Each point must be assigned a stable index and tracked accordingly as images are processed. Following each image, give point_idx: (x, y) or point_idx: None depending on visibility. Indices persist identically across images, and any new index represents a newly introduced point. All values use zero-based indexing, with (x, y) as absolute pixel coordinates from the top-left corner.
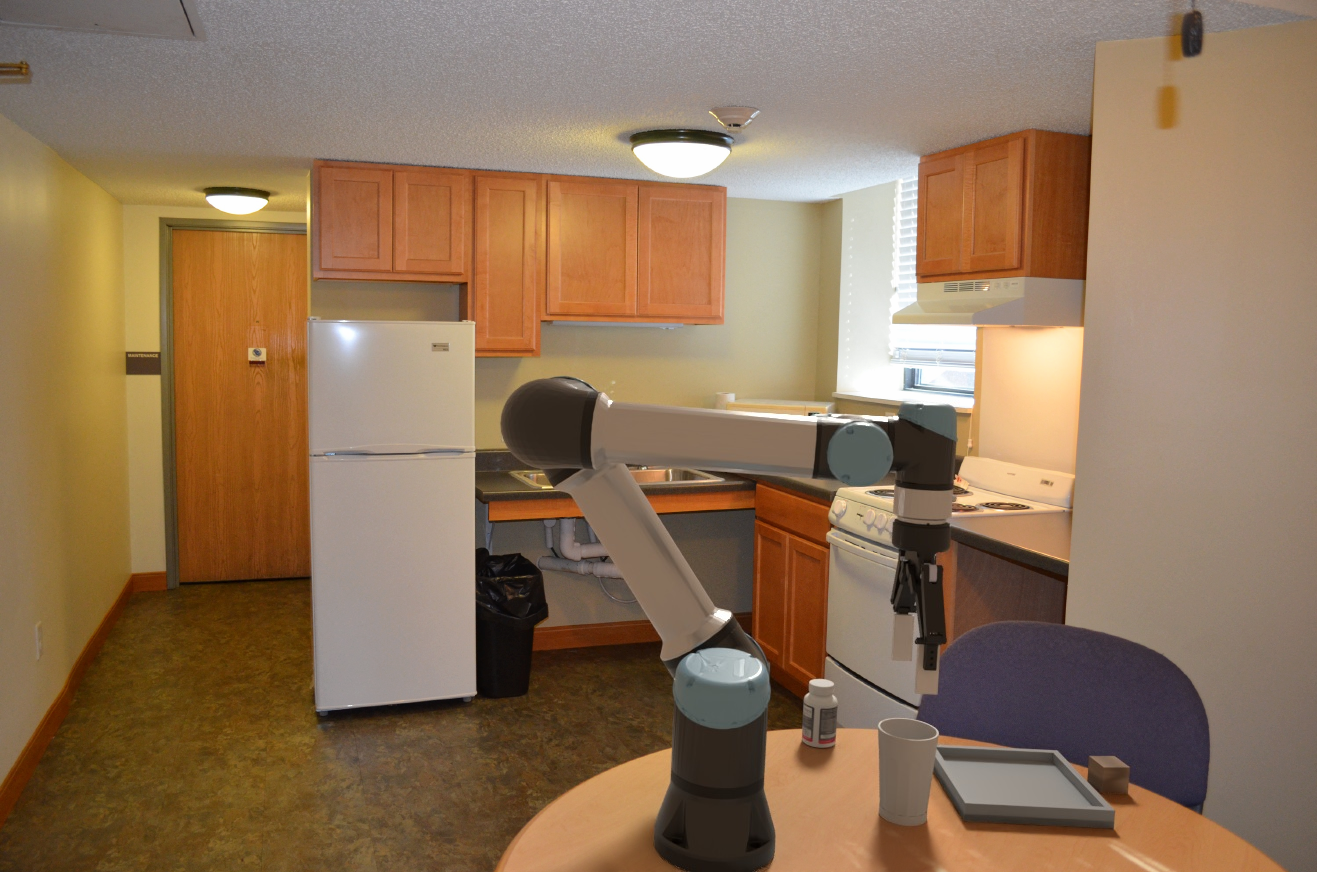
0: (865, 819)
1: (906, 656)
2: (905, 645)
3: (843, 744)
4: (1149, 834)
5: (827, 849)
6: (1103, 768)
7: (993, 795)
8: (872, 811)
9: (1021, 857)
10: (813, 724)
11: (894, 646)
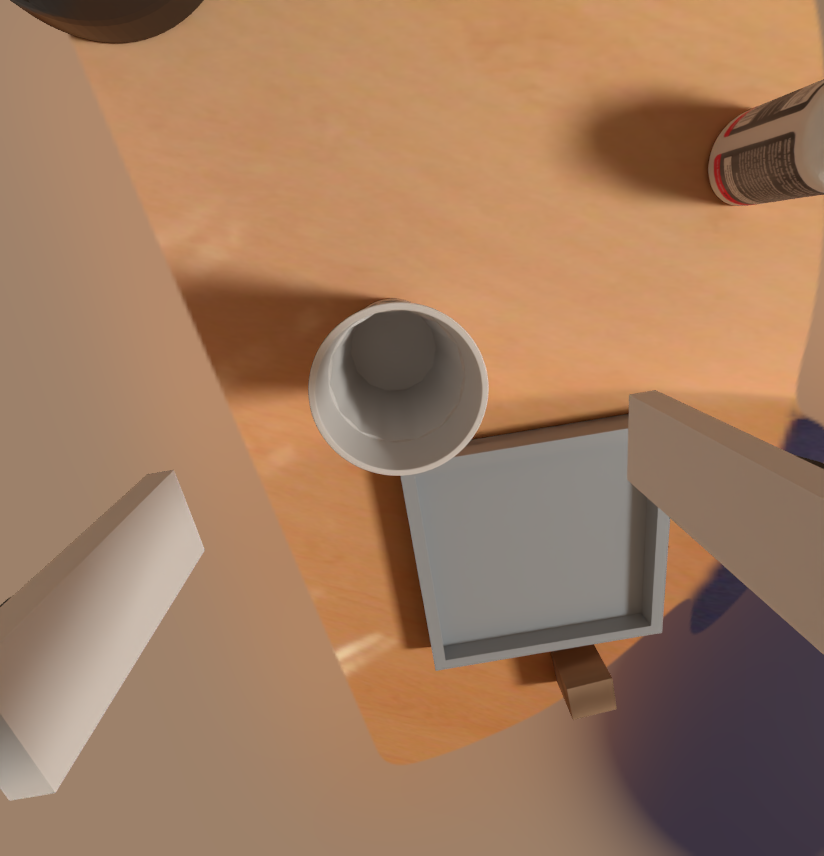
0: (350, 268)
1: (639, 465)
2: (674, 484)
3: (731, 228)
4: (426, 681)
5: (186, 179)
6: (566, 686)
7: (486, 511)
8: (390, 285)
9: (294, 521)
10: (760, 124)
11: (672, 424)
